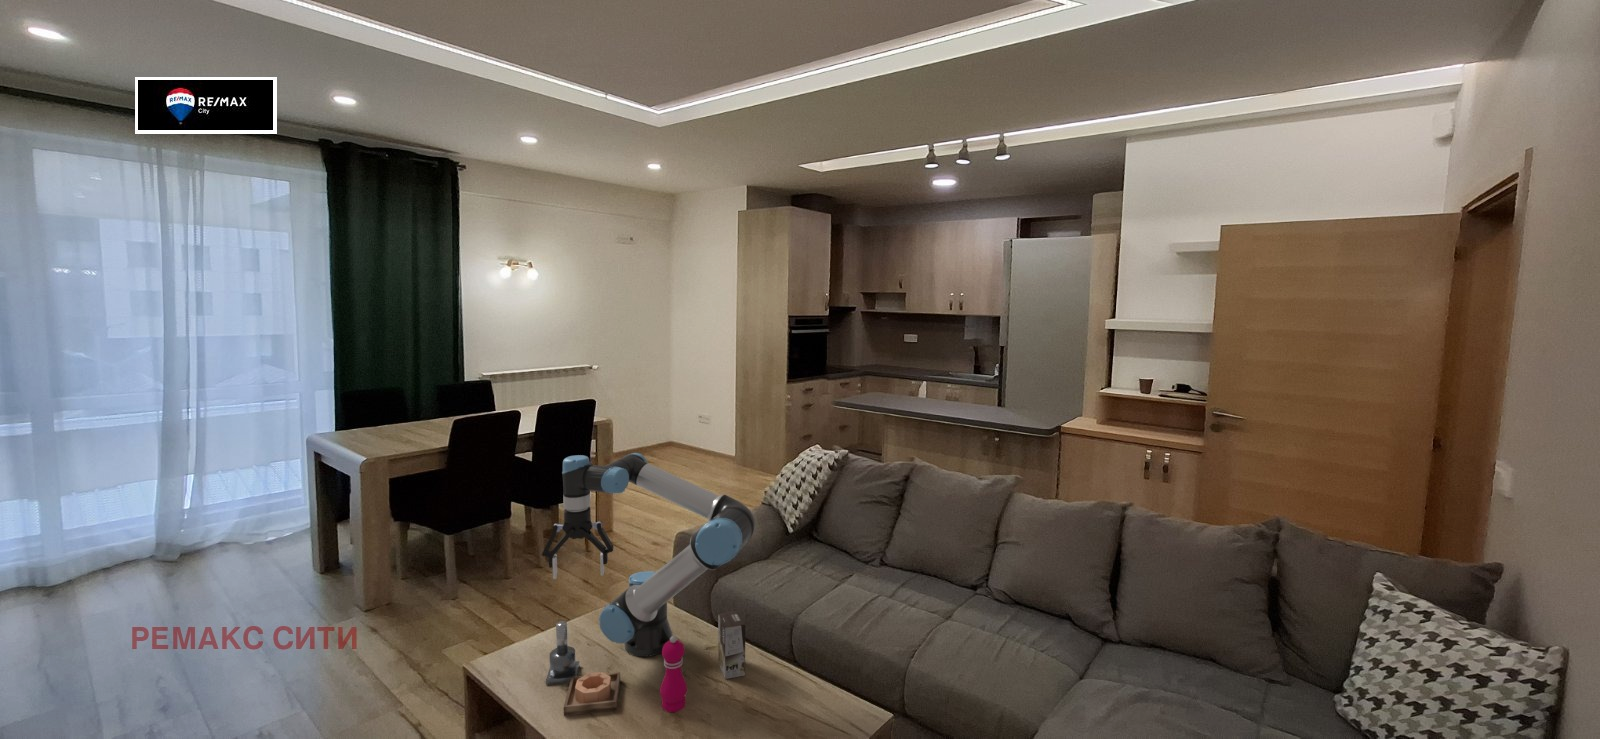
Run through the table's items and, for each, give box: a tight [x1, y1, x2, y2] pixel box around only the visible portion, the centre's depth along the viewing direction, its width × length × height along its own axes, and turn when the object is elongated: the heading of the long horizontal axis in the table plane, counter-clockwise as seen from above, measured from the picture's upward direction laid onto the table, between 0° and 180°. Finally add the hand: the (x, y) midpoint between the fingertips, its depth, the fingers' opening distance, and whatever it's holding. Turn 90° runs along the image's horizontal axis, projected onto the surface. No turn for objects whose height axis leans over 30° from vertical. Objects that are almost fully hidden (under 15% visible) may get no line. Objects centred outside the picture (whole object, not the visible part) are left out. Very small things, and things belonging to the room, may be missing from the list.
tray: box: [563, 671, 621, 716], centre depth 176 cm, size 13×13×2 cm
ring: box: [575, 671, 611, 704], centre depth 176 cm, size 9×9×4 cm
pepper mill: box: [659, 635, 688, 713], centre depth 172 cm, size 7×7×20 cm
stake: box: [545, 620, 580, 686], centre depth 185 cm, size 8×8×16 cm
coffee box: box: [717, 610, 746, 680], centre depth 189 cm, size 9×6×16 cm
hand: (579, 575), depth 191 cm, fingers open, 13 cm apart
